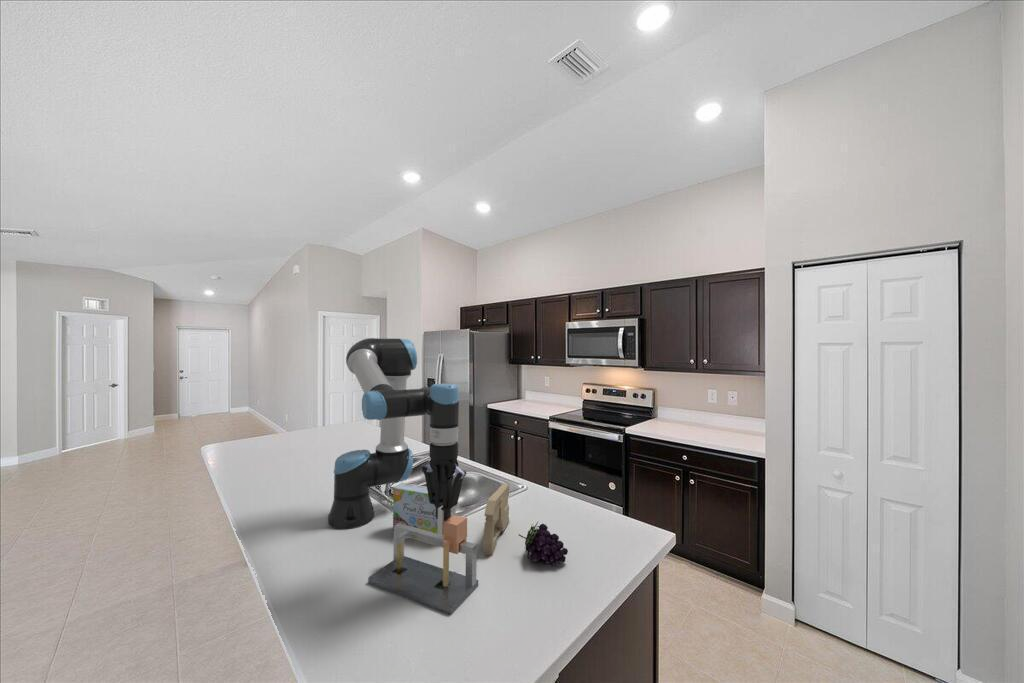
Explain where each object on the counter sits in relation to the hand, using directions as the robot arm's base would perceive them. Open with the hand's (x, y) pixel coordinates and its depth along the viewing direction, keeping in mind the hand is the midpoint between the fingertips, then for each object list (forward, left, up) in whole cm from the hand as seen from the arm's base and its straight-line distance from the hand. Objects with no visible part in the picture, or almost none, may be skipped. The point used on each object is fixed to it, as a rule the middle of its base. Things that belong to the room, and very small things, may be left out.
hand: (443, 531), depth 100 cm
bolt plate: (-3, -4, -13) cm, 13 cm away
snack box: (-20, +17, -13) cm, 29 cm away
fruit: (+20, +21, -13) cm, 32 cm away
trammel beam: (-3, -2, -12) cm, 13 cm away
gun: (+2, +27, -13) cm, 30 cm away
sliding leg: (+4, -1, -11) cm, 11 cm away
